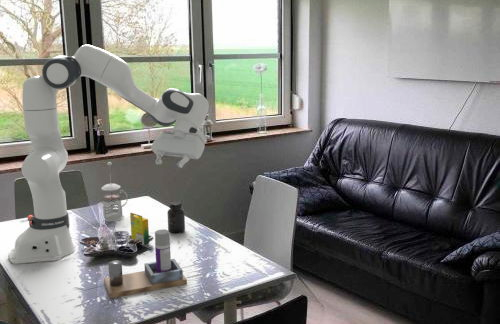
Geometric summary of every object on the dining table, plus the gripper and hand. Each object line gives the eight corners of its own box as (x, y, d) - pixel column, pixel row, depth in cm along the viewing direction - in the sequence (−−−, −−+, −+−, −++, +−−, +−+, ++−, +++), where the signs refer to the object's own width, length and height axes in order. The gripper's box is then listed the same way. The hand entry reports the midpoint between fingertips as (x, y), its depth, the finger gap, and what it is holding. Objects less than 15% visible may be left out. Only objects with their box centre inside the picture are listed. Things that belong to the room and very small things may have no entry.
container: (155, 274, 174) (153, 230, 170) (169, 271, 175) (167, 228, 172) (158, 279, 169) (156, 235, 166) (173, 277, 171) (171, 233, 168)
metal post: (111, 287, 164) (109, 266, 163) (109, 282, 168) (107, 261, 166) (124, 285, 166) (122, 264, 164) (121, 280, 169) (120, 259, 168)
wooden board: (110, 298, 161) (109, 284, 160) (104, 282, 171) (103, 269, 170) (186, 283, 170) (186, 270, 169) (176, 269, 181) (176, 257, 180)
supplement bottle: (188, 232, 216) (187, 203, 213) (172, 235, 212) (171, 206, 209) (180, 227, 221) (179, 199, 219) (165, 230, 218) (164, 202, 215)
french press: (103, 214, 238) (99, 159, 233) (129, 213, 240) (126, 159, 234) (99, 221, 229) (95, 165, 223) (127, 220, 230) (123, 164, 224)
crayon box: (149, 243, 204) (148, 214, 201) (143, 245, 202) (142, 216, 199) (137, 239, 209) (135, 210, 206) (131, 241, 206) (129, 212, 204)
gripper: (157, 125, 195) (140, 157, 189) (203, 130, 185) (187, 163, 179) (165, 136, 200) (149, 166, 194) (211, 141, 190) (195, 173, 184)
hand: (168, 165), depth 186 cm, fingers open, 8 cm apart
